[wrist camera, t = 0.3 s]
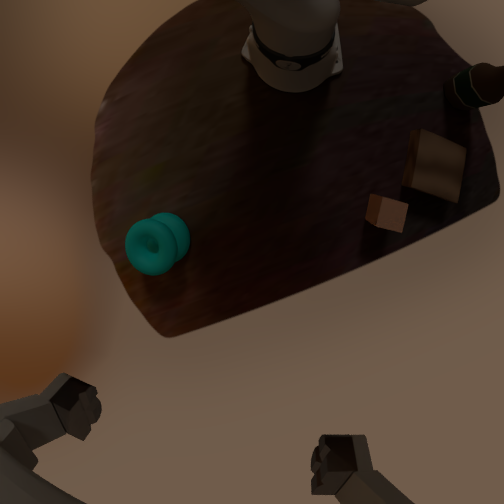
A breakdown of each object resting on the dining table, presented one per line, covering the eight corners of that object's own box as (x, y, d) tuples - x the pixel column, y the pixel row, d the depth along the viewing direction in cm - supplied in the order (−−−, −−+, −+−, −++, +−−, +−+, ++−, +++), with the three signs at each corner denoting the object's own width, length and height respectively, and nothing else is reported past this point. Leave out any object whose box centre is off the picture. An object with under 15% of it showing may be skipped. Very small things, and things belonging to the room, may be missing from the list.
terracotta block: (370, 193, 49) (382, 196, 43) (393, 199, 49) (408, 204, 42) (364, 219, 51) (375, 226, 44) (388, 225, 51) (401, 232, 44)
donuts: (152, 209, 44) (185, 260, 46) (174, 202, 54) (201, 245, 56) (112, 239, 47) (142, 287, 48) (138, 228, 56) (163, 269, 58)
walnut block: (410, 131, 45) (421, 128, 41) (453, 149, 45) (466, 148, 40) (400, 185, 48) (411, 187, 44) (444, 200, 48) (457, 203, 43)
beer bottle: (438, 98, 42) (511, 70, 19) (446, 70, 40) (513, 36, 17) (466, 118, 42) (542, 104, 19) (472, 91, 40) (543, 69, 17)
